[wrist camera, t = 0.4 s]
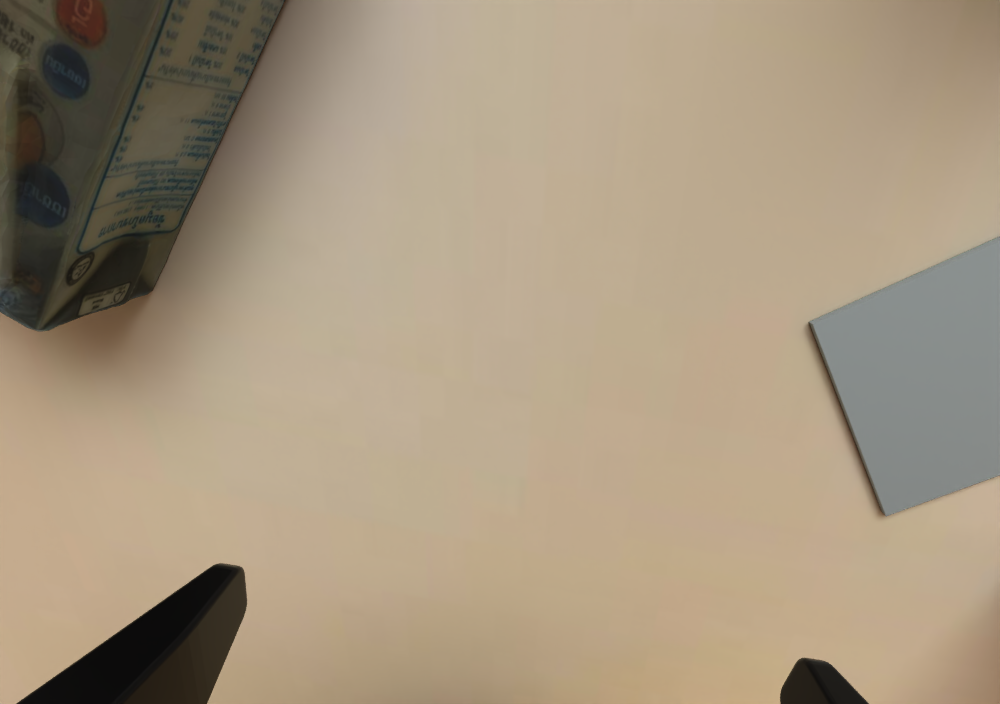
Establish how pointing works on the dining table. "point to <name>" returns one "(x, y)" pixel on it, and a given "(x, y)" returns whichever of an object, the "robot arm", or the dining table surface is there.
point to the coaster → (922, 378)
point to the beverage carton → (109, 140)
